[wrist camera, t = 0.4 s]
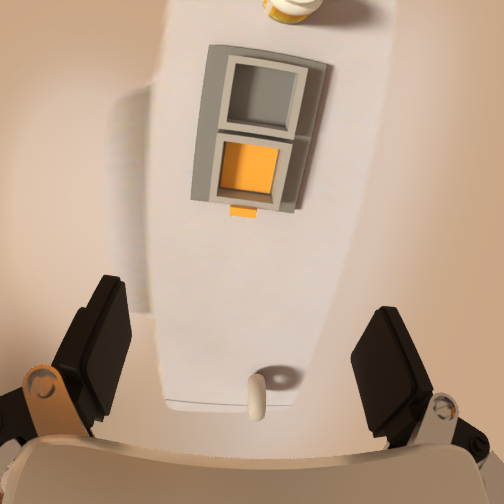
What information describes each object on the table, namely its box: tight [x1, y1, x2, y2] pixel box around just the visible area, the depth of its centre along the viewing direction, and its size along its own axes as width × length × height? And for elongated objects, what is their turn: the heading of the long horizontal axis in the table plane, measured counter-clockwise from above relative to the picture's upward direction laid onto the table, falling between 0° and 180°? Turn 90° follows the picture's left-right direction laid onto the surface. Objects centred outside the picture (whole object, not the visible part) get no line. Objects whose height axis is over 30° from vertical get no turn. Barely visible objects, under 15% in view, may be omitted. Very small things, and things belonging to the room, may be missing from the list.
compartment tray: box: [191, 45, 327, 218], centre depth 32 cm, size 19×13×4 cm
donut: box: [248, 373, 266, 422], centre depth 56 cm, size 10×4×10 cm, turn 179°
